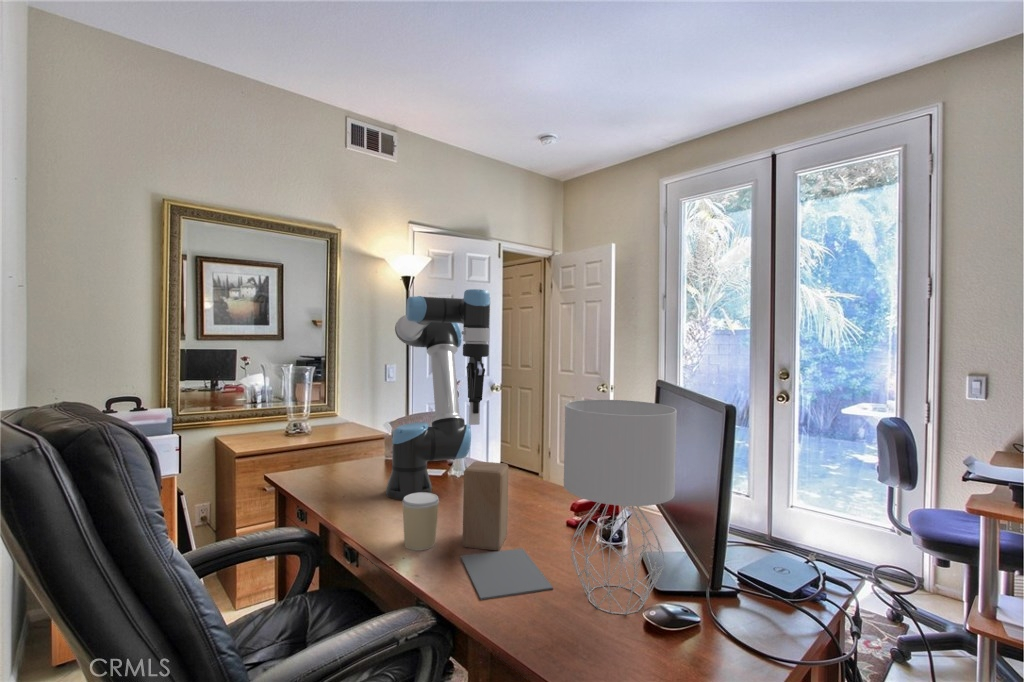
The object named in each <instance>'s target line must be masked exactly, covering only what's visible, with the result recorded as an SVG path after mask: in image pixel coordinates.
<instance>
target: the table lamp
mask: <svg viewBox="0 0 1024 682" xmlns="http://www.w3.org/2000/svg"><path fill="white" fill-rule="evenodd" d="M564 409H565V410H564V411H565V412H564V413H565V414H564V445H563V446H564V453H563V455H564V457H563V487H564V489H565V490H566V491H567V492H568V493H569V494H572V495H573V496H576V497H578V498H581V499H583V500H587V501H589V502H594V503H595V504H594V506H592V508H591V509H590V510H589V512H588V513H587V514H586V515H585V516H584V517H583V519H582V520H580V522H579V524H578V526H577V527H576V530H575V532H574V535H573V536H572V539H571V546H570V550H571V557H570V558H571V562H572V564H573V567H574V569H575V572H576V574H577V577H578V578H579V581H580V584H581V587H582V588H583V590H584V592H585V594H586V597H587V599H588V602H590V604H592V606H594V607H595V608H596V609H598V610H601V611H603V612H605V613H608V614H611V615H612V614H614V615H624V616H626V615H630V614H634V613H637V612H638V613H639V611H640V610H641V609H642V607H643V606H644V605H645V603H646V601H647V600H648V599H649V597H650V595H651V593H652V591H653V590H654V588H655V586H656V584H657V582H658V580H659V579H660V576H661V574H662V572H663V570H664V568H665V567H666V561H665V555H664V550H663V548H662V546H661V543H660V541H659V538H658V535H657V534H656V532H655V531H656V530H654V527H653V526H652V524H651V523H650V521H649V520H648V518H647V517H646V515H645V514H644V512H643V511H642V510H641V508H640V507H648V506H655V505H660V504H664V503H667V502H670V501H671V500H672V499H673V498H674V497H675V495H676V493H675V492H676V457H677V456H676V453H677V416H678V415H677V414H678V413H677V411H678V410H677V409H676V408H675V407H672V406H669V405H665V404H661V403H656V402H655V403H654V402H648V401H647V402H646V401H637V400H636V401H635V400H624V399H585V400H584V399H581V400H573V401H568V402H567V403H565V405H564ZM601 504H603V505H605V506H604V508H603V511H602V512H601V514H600V517H599V519H598V522H597V523H596V522H595V521H594V520H593V519H592V517H593V516H594V514H596V511H597V509H598V508H599V507H600V505H601ZM610 505H611V506H612V505H613V511H612V513H613V514H612V521H611V522H610V523H608V524H606V525H604V521H605V516H606V515H607V511H608V508H609V507H610ZM616 506H620V509H621V517H619V518H616V519H615V513H616V512H615V511H616ZM626 507H631V510H632V511H633V513H634V515H635V517H636V519H637V521H638V524H639V526H640V527H641V530H639V528H638V527H636V525H634V524H633V523H631V522H630V521H629V520H628V516H627V511H626ZM635 507H636V508H637V510H638V512H639V513H640V515H641V517H643V519H644V520H645V522H646V524H647V526H649V528H650V529H648V530H647V531H645V530H644V527H643V526H642V521H641V518H640V517H639V515H638V512H637V511H636V509H635ZM623 511H624V512H623ZM589 514H590V515H589ZM587 517H588V518H587ZM586 518H587V519H586ZM602 518H603V519H602ZM585 519H586V520H585ZM601 519H602V522H601ZM614 519H615V520H614ZM621 519H622V521H621V522H622V544H621V545H622V546H621V551H620V550H618V549H617V548H616V547H615V546H614V545H613V544H612V538H613V530H614V523H616V522H618V521H619V520H621ZM624 520H625V522H626V526H627V532H628V536H629V541H630V546H631V551H630V552H629V553H627V554H624V543H625V541H624V539H625V534H624V533H625V532H624V531H625V527H624V526H625V525H624V524H625V523H624ZM589 521H591V522H592V523H593V524H595V525H596V526H595V529H594V532H593V534H592V535H591V538H590V541H589V543H588V544H589V545H588V548H587V550H586V547H585V543H584V535H585V530H586V528H587V526H588V523H589ZM583 522H584V523H583ZM600 522H601V525H600ZM582 523H583V524H582ZM581 524H582V525H581ZM609 525H611V530H610V531H611V532H610V538H609V539H610V541H609V543H608V542H607V541H606V540H605V539H604V538H603V536H602V535H603V529H604V528H605V527H608V526H609ZM630 525H631V526H632V527H633V528H634V529H636V530H637V531H638V532H639V533H640V534H642V538H643V544H642V545H640V546H639V547H637V548H636V549H635V548H634V547H633V541H632V536H631V531H630V530H631V529H630V527H629V526H630ZM580 526H581V527H580ZM598 527H599V528H600V537H599V539H598V540H597V542H596V543H595V545H594V547H593V548H592V549H591V552H590V548H591V544H592V542H593V541H592V540H593V537H594V536H595V534H596V532H597V529H598ZM650 531H652V533H653V534H654V537H655V541H656V542H657V546H658V547H657V546H656V545H654V544H653V543H651V542H650V540H649V538H648V536H647V533H649V532H650ZM576 537H577V538H576ZM575 538H576V540H575V543H574V539H575ZM579 538H580V539H581V542H582V547H583V550H584V554H585V555H582V554H581V553H580V552H578V551H577V550H576V549H575V547H576V545H577V542H578V540H579ZM645 539H646V540H645ZM599 542H600V545H601V548H600V549H598V550H595V548H596V547H597V546H598V544H599ZM603 542H605V544H607V545H605V546H604V547H603ZM646 542H647V544H646ZM648 546H649V549H650V552H651V556H652V559H653V562H654V563H653V564H654V565H653V568H652V564H651V560H650V558H649V554H648V551H647V548H648ZM652 547H653V548H654V549H655V550H657V551H658V556H657V559H656V560H655V556H654V553H653V550H652ZM606 548H609V550H608V562H607V573H606V567H605V558H604V549H606ZM641 548H642V549H641ZM639 549H641V554H640V555H639V556H638V559H637V560H636V561H635V554H634V553H635V551H637V550H639ZM594 550H595V551H594ZM611 550H612V551H614V553H616V554H617V555H618V556H619V557H620V559H619V561H618V563H617V564H616V566H615V568H614V569H613V571H612V573H611V574H610V563H611V562H610V561H611V560H610V559H611ZM589 552H590V554H589ZM598 552H601V555H602V565H603V573H604V579H603V578H602V576H601V575H600V574H599V572H598V571H597V570H596V569H595V567H594V566H593V564H592V563H591V562H590V560H589V558H590V557H591V556H593V555H594V554H596V553H598ZM575 553H577V554H578V555H579V556H580V557H582V558H583V559H585V562H584V569H583V570H582V571H581V569H580V566H579V563H578V560H577V558H576V556H575ZM644 553H646V557H647V559H648V560H647V561H648V564H649V567H650V570H651V571H650V572H649V573H648V574H647V575H646V576H645V577H644V578H643V579H642V580H641V581H639V580H638V579H637V575H638V573H639V569H640V567H641V566H640V565H641V562H642V558H643V554H644ZM630 554H632V561H633V563H632V561H630V560H629V559H628V558H627V556H628V555H630ZM661 554H662V559H663V564H662V565H661V566H659V567H657V566H656V565H657V564H658V560H659V559H660V557H661V556H660V555H661ZM624 559H625V560H626V561H627V562H629V563H630V565H632V567H633V573H634V574H633V575H634V576H633V577H634V578H632V579H631V580H630V576H629V574H628V571H627V568H626V564H625V560H624ZM638 562H639V563H638ZM619 564H620V570H619V571H620V572H619V584H610V581H611V578H612V576H613V575H614V573H615V571H616V569H617V568H618V566H619ZM637 564H638V565H637ZM636 566H637V570H636ZM622 567H624V570H625V574H626V576H627V578H628V581H626V582H625V583H623V584H621V581H622V580H621V579H622ZM591 568H592V569H593V570H594V571H595V573H596V574H597V576H598V577H599V579H600V580H601V581H602V583H603V584H602V583H600V581H598V580H597V579H596V577H594V576H593V574H592V570H591ZM657 570H659V572H658V573H657ZM584 572H585V576H586V580H587V584H586V582H585V579H584V576H583V573H584ZM653 573H655V574H654V576H653ZM606 575H607V576H606ZM609 575H610V576H609ZM589 576H590V577H591V581H592V583H593V588H592V586H591V583H590V580H589ZM652 577H653V578H652ZM647 578H648V579H647ZM646 579H647V581H646V584H643V582H644V581H645V580H646ZM594 580H595V581H596V583H598V584H599V585H597V586H596V585H595V582H594ZM631 582H632V583H631ZM636 582H637V584H636V585H635V583H636ZM627 584H629V585H630V588H629V587H626V585H627ZM639 585H641V586H642V587H643V588H644V589H643V591H642V593H641V594H639V593H638V592H636V591H635V589H637V587H638V586H639ZM606 587H607V588H606ZM610 587H616V588H613V589H611V590H610ZM596 588H602V589H604V590H605V591H606V592H607V593H606V595H605V596H604V597H603V599H602V600H600V602H599V603H598V604H597V601H596V598H595V595H594V592H593V591H594V590H596ZM620 588H623V589H625V590H629V591H630V595H629V599H628V603H627V606H626V608H625V609H626V610H624V609H623V608H622V606H621V605H620V603H619V602H618V600H616V598H615V597H614V596H613V594H612V592H614V591H617V590H618V589H620ZM645 590H646V591H645ZM633 593H635V594H636V595H637V596H639V598H638V600H636V602H635V603H634V604H633V605H632V606H631V607H630V608H629V606H630V603H631V599H632V595H633ZM607 597H608V604H609V610H605V609H603V608H600V605H601V604H602V603H603V602H604V601H605V599H606V598H607ZM611 598H612V599H613V600H614V602H615V603H616V604H617V605H618V607H619V608H620V609H621V611H622V612H614V611H613V612H612V606H611V605H612V603H611ZM591 600H592V601H591ZM640 601H641V602H640ZM639 602H640V604H639V606H638V609H637V610H634V611H631V610H632V609H634V607H635V606H636V605H637V604H638V603H639Z"/></svg>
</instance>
